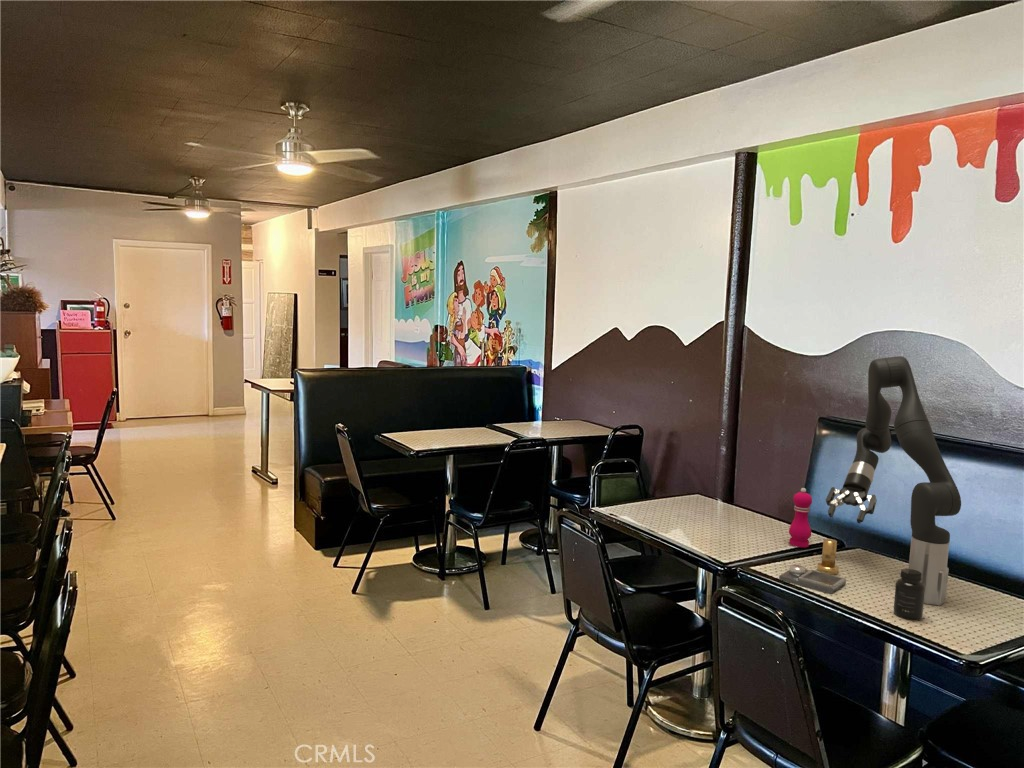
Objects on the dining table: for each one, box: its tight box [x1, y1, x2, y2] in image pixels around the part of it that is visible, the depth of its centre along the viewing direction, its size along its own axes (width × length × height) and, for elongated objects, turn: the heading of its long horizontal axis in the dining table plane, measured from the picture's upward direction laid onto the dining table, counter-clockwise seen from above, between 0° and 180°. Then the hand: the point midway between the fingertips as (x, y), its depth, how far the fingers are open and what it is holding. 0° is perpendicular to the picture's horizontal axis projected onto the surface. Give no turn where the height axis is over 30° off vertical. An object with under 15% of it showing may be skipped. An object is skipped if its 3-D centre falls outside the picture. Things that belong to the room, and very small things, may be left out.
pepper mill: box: [788, 487, 813, 548], centre depth 248 cm, size 7×7×20 cm
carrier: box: [778, 564, 847, 595], centre depth 213 cm, size 15×12×3 cm
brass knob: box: [816, 538, 840, 576], centre depth 222 cm, size 6×6×10 cm
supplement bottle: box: [893, 568, 925, 621], centre depth 190 cm, size 7×7×12 cm
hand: (844, 519), depth 229 cm, fingers open, 8 cm apart
